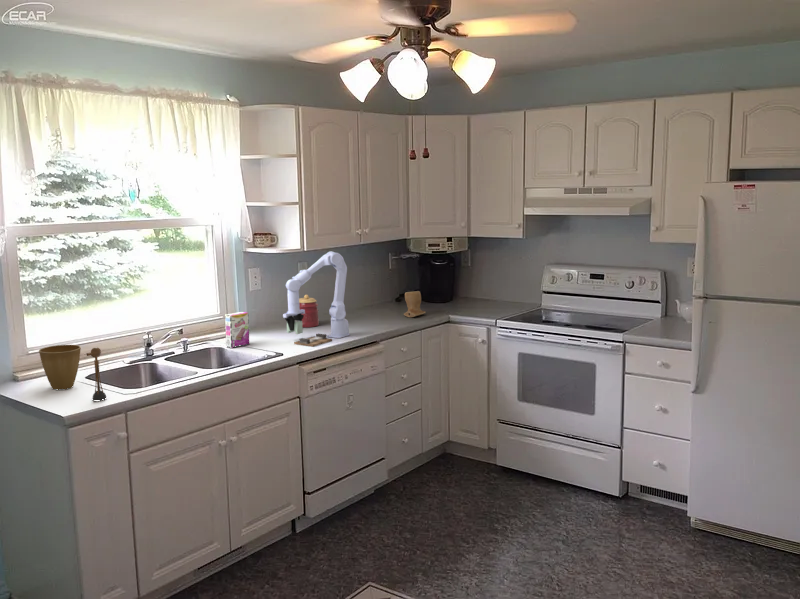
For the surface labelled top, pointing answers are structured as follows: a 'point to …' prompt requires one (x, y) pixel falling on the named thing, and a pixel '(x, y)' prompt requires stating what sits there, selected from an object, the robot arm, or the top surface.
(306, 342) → the rail board
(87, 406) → the top surface
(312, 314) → the canister
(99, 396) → the wooden tabletop sculpture
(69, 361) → the plant pot
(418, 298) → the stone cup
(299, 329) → the module
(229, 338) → the candy bar box
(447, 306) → the top surface
